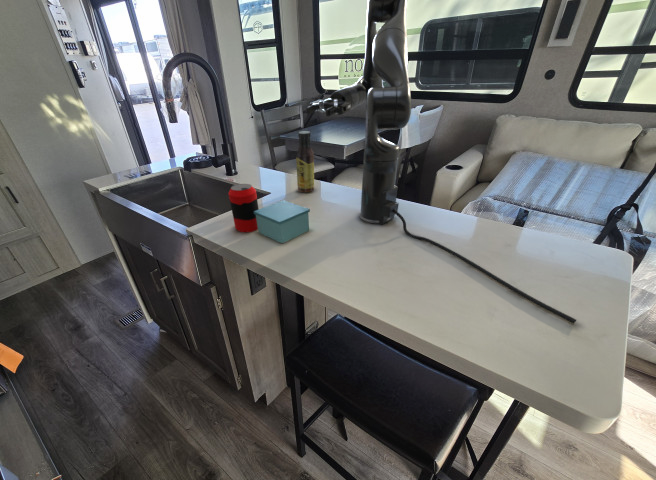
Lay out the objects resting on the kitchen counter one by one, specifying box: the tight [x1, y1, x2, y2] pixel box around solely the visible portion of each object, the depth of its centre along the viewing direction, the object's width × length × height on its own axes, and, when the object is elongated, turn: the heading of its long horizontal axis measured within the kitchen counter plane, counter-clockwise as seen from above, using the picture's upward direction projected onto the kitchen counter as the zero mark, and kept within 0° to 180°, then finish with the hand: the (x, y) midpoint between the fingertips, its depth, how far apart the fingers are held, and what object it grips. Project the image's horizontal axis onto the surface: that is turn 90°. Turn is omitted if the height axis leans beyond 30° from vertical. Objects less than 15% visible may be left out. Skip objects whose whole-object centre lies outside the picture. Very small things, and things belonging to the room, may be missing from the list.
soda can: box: [228, 183, 260, 234], centre depth 89 cm, size 8×8×12 cm
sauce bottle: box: [295, 130, 315, 194], centre depth 110 cm, size 7×6×20 cm
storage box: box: [254, 199, 311, 244], centre depth 87 cm, size 11×11×6 cm
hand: (316, 112), depth 105 cm, fingers open, 8 cm apart
